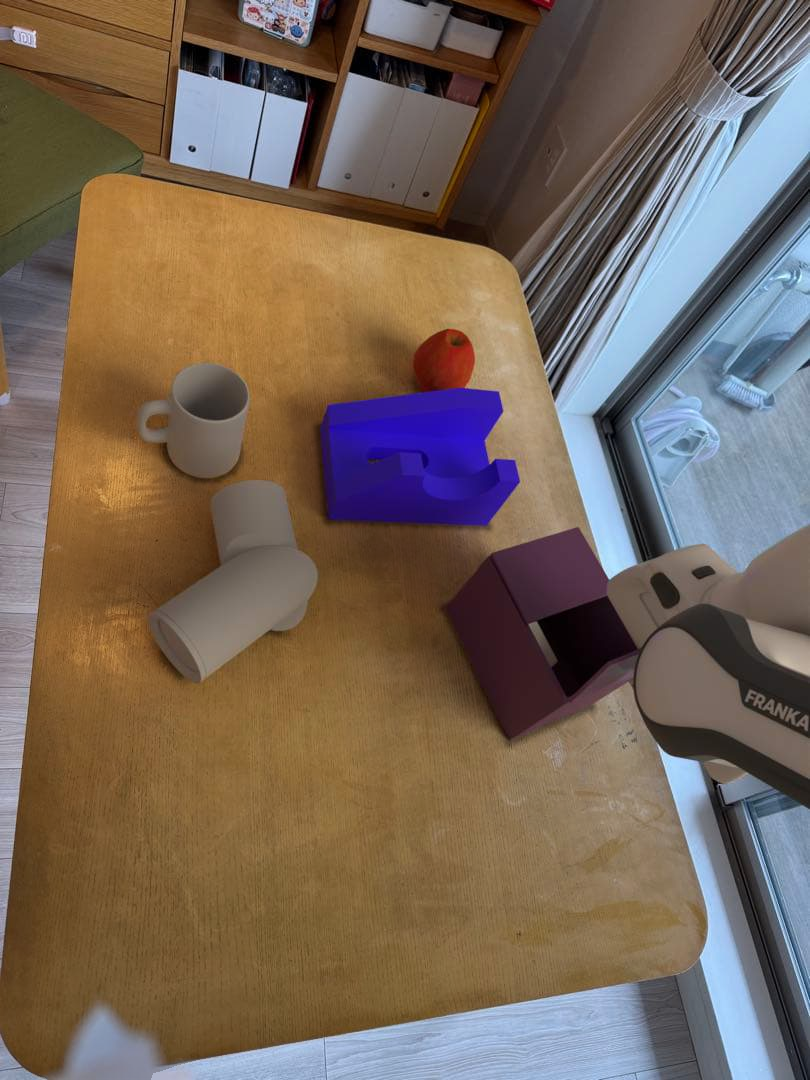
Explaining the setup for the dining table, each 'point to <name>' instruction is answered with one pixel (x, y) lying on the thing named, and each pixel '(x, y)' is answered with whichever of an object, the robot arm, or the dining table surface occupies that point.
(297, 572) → the elbow connector
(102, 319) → the dining table surface
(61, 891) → the dining table surface
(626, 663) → the flap
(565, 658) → the carton
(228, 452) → the mug
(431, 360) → the apple
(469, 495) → the bracket
